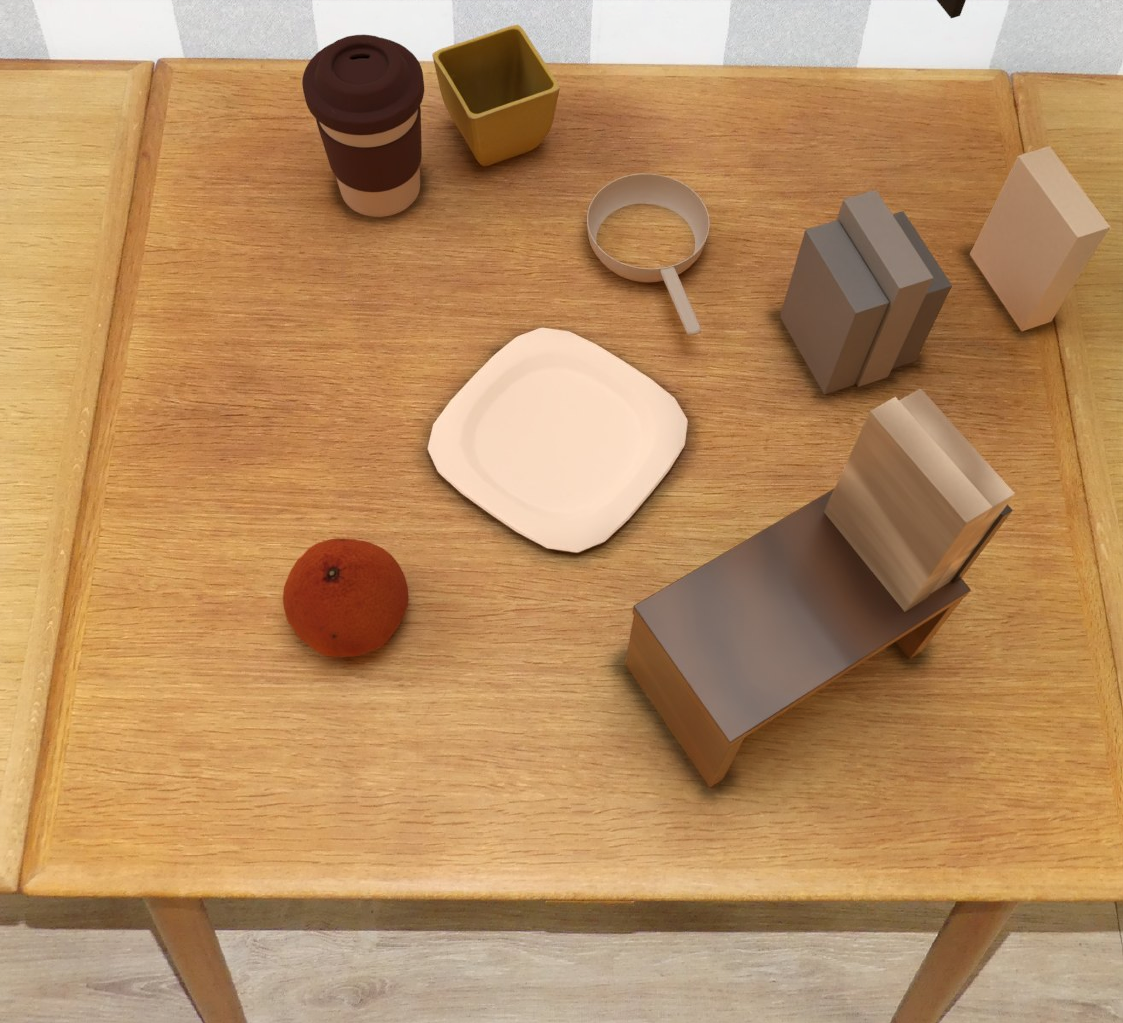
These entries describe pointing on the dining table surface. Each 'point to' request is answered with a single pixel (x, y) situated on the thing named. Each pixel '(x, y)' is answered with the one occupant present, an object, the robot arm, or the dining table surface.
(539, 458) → the plate
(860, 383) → the grey books
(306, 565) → the fruit
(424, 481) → the dining table surface
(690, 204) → the saucepan
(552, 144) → the dining table surface
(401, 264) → the dining table surface
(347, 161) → the coffee cup
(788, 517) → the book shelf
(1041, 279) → the white book
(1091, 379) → the dining table surface
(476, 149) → the flower pot
